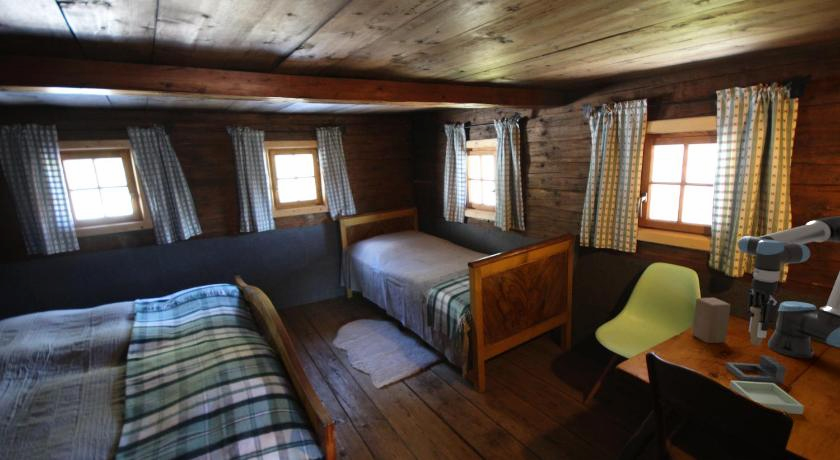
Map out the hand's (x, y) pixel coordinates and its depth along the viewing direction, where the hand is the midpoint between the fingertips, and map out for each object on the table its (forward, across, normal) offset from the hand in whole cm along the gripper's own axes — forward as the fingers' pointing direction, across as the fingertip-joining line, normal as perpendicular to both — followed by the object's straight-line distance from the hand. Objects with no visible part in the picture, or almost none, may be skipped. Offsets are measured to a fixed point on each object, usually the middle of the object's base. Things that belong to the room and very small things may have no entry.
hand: (757, 334), depth 153 cm
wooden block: (+19, -33, +2) cm, 38 cm away
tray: (+18, +17, -6) cm, 26 cm away
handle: (+4, 0, 0) cm, 4 cm away
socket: (+18, 0, +1) cm, 18 cm away
